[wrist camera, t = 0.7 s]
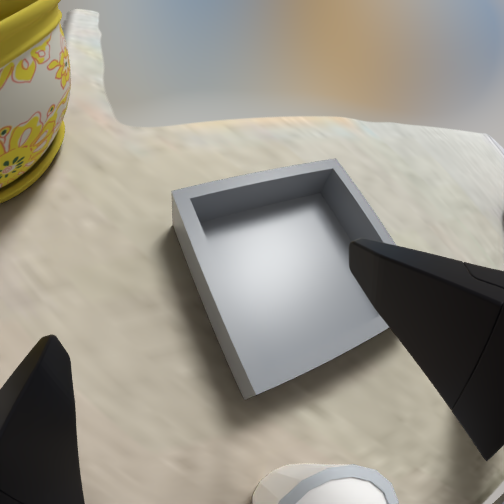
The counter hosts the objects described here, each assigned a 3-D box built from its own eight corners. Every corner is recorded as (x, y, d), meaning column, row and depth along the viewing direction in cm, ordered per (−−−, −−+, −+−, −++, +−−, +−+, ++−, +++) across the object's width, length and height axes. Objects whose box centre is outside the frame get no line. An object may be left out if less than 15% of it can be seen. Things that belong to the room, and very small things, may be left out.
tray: (400, 320, 24) (429, 302, 20) (244, 399, 19) (256, 394, 16) (320, 188, 29) (336, 158, 26) (172, 224, 25) (171, 191, 21)
